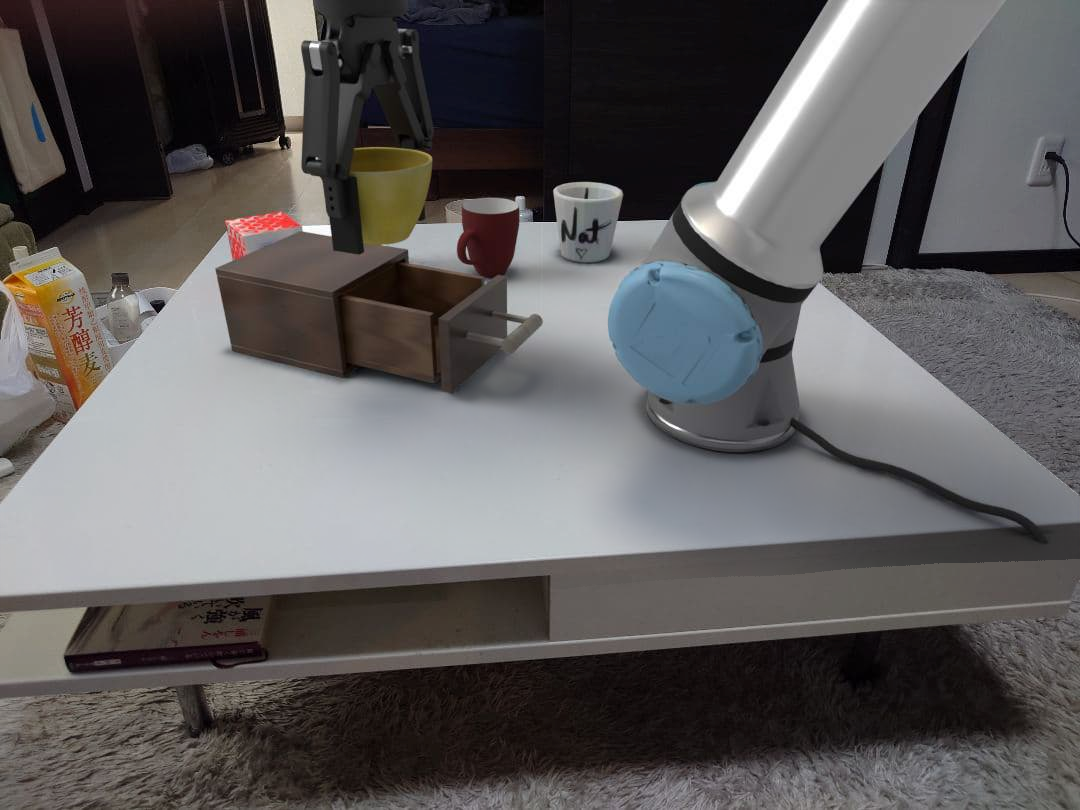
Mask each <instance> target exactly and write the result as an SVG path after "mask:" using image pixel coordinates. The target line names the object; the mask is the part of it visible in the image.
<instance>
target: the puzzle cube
mask: <svg viewBox="0 0 1080 810" xmlns="http://www.w3.org/2000/svg"><path fill="white" fill-rule="evenodd" d="M225 227H226V232H227V238H228V243H229V248H230V254H231V258H232V261H233V260H236V259H238V258H240V257H242V256H245V255H247V254H249V253H252V252H254V251H256V250H259V249H261V248H263V247H265V246H268V245H270V244H272V243H275V242H277V241H279V240H281V239H284V238H286V237H288V236H291V235H293V234H295V233H298V232H300V231H303V226H302V225H301V224H300V223H298V222H297V221H296V220H294V219H293V218H291V217H290V216H288V215H287V214H285V213H284V212H283V211H277V212H272V213H264V214H259V215H258V214H257V215H252V216H246V217H239V218H233V219H227V220H225ZM303 232H304V231H303Z"/></svg>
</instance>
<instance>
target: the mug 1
mask: <svg viewBox="0 0 1080 810" xmlns="http://www.w3.org/2000/svg"><path fill="white" fill-rule="evenodd" d="M461 225H462V231H463V232H462V233H460V235H459V237H458V240H457V244H456V255H457V259H458V260H459V261H460V263H462V264H464V265H467V266H472V267H473V269H474V270H475V271H476V273H477V274H478V276H483V277H484V279H493V278H494V277H495V276H497V275H502V276H506V275H505V274H506V273H507V271H508V269H509V268H510V266H511V264H512V262H513V260H514V257H515V253H516V246H517V241H518V234H519V231H520V204H519V203H518V202H516V201H514V200H512V199H508V198H501V197H478V198H473V199H470V200H466V201H464V202H463V203H462V204H461ZM467 254H468V255H467ZM468 258H469V259H468Z"/></svg>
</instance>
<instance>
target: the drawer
mask: <svg viewBox="0 0 1080 810" xmlns="http://www.w3.org/2000/svg"><path fill="white" fill-rule="evenodd" d="M338 302H339V310H340V318H341V326H342V334H343V342H344V350H345V358H346V363H350V364H354V365H359V367H363V368H368V369H372V370H376V371H381V372H385V373H389V374H393V375H397V376H401V377H405V378H409V379H414V380H418V381H423V382H427V383H431V384H435V383H436V382H438V381H439V380H441V392H443V393H447V394H451V395H453V393H455V392H456V391H457V390H458V389H459V388H460V387H461V386H462V385H463V384H465V382H466V381H468V380H469V379H470V378H471V377H472V376H473V375H474V374H475V373H477V371H479V370H480V369H481V368H482V367H484V365H485V364H486V363H487V362H488V361H490V360H491V358H493V357H494V356H495V355H496V354H497V353H498V352H500V350H501V349H502V350H503V351H504V352H505V353H507V354H513V353H515V352H516V351H517V350H518V349H519V348H520V347H521V346H522V345H523V344H524V343H525V342H526V341H527V340H528V339H529V338H531V336H533V335H534V334H535V333H536V332H537V330H539V329H540V328H541V327H542V326H543V323H544V322H543V317H541V315H539V314H538V313H532V314H531V315H530V316H529V317H528V316H523V315H522V316H521V315H517V314H512V313H508V276H507V275H503V276H502V275H497V276H495V277H494V278H490V279H489V280H488V281H487V282H486V283H485V277H483V276H480V275H479V274H478V275H477V274H471V273H466V272H461V271H456V270H449V269H444V268H438V267H433V266H426V265H421V264H416V263H410V262H409V263H405V262H400V261H399V262H397V263H395V264H393V265H392V266H390V267H388V268H387V269H385V270H383V271H381V272H380V273H378V274H376V275H374V276H373V277H371V278H369V279H367V280H366V281H364V282H362V283H360V284H359V285H357V286H355V287H353V288H352V289H350V290H348V291H346V292H345V293H343V294H341V295H340V296H338ZM508 322H513V323H519V324H520V325H518V326H517V327H516V328H515V329H513V331H512V332H511V333H510V334H509V335H508Z"/></svg>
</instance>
